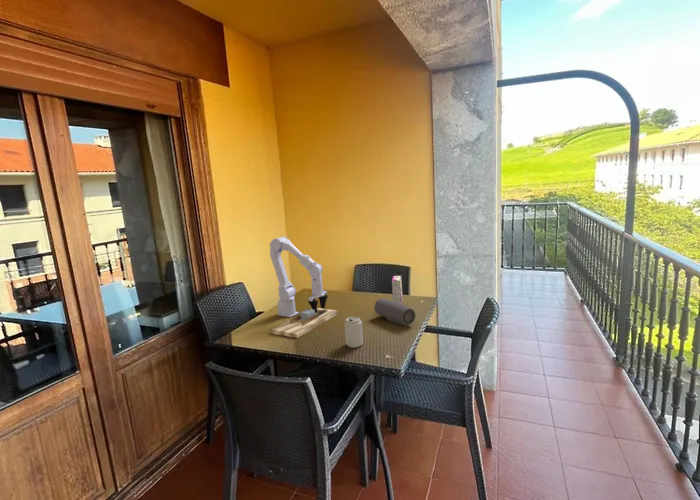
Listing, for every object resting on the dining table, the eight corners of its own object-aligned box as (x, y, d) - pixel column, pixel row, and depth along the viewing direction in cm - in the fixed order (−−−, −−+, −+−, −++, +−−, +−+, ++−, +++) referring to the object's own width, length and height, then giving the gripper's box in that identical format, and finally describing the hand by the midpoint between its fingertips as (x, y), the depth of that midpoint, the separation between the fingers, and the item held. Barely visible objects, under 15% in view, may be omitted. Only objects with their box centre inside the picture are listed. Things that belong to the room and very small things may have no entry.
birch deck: (271, 333, 178) (271, 329, 177) (314, 310, 208) (313, 307, 208) (297, 338, 170) (297, 333, 169) (337, 313, 200) (337, 310, 200)
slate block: (300, 319, 189) (300, 312, 188) (307, 316, 194) (307, 308, 193) (308, 320, 186) (307, 313, 186) (315, 317, 191) (314, 309, 191)
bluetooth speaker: (416, 325, 176) (416, 305, 175) (402, 329, 172) (401, 309, 170) (388, 313, 196) (387, 295, 194) (374, 317, 191) (373, 299, 189)
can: (345, 342, 161) (343, 316, 159) (362, 340, 162) (360, 315, 160) (346, 349, 154) (344, 322, 152) (364, 347, 154) (362, 320, 153)
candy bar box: (394, 302, 214) (393, 275, 211) (402, 302, 213) (401, 275, 210) (392, 308, 203) (391, 280, 201) (401, 308, 202) (400, 280, 200)
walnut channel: (290, 323, 184) (290, 319, 184) (305, 315, 195) (305, 311, 195) (303, 325, 180) (303, 321, 180) (318, 317, 191) (318, 313, 191)
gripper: (315, 290, 188) (317, 315, 190) (330, 283, 201) (332, 307, 203) (304, 289, 192) (306, 313, 194) (320, 282, 204) (321, 305, 206)
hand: (319, 310), depth 199 cm, fingers open, 7 cm apart
